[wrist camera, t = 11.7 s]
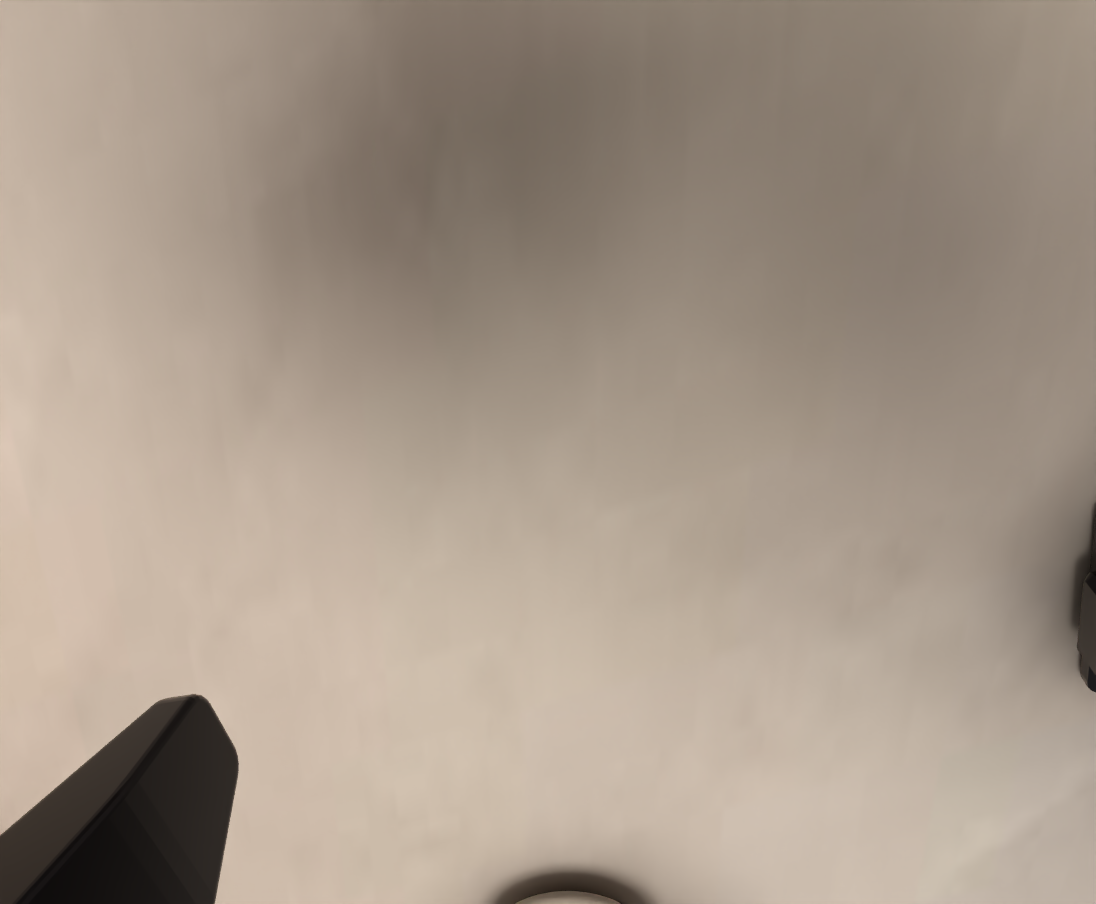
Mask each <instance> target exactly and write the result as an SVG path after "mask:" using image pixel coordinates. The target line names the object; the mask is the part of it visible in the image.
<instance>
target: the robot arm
mask: <svg viewBox="0 0 1096 904" xmlns="http://www.w3.org/2000/svg"><path fill="white" fill-rule="evenodd" d="M1077 648H1078V651H1079V652H1080V654H1081V655H1082V660H1081V670H1080V673H1081V677H1082V679H1083V680H1084V682H1085V683H1086V685H1087V686H1088V687H1089V688H1090V689H1091V690H1092V691H1094V692H1096V517H1095V527H1094V538H1093V548H1092V558H1091V568H1090V573H1088V575H1087V577H1086V578H1085V580H1084V582H1083V590H1082V600H1081V611H1080V622H1079V632H1078V643H1077ZM238 765H239V763H238V756H237V753H236V749H235V747H234V745H233V743H232V741H231V740H230V738H229V736H228V734H227V733H226V731H225V729H224V727H223V726H222V724H221V722H220V720H219V718H218V717H217V715H216V713H215V711H214V710H213V708H212V706H211V704H210V703H209V701H208V700H207V699H206V698H204V697H203V696H201V695H196V694H191V695H185V696H178V697H171V698H166V699H163V700H160V701H158V702H157V703H155V704H154V705H153V706H151V707H150V708H149V709H148V710H147V711H146V712H144V713H143V714H142V715H141V716H140V717H139V718H137V719H136V720H135V721H134V722H133V723H132V724H130V725H129V726H128V727H127V728H126V729H125V730H123V731H122V732H121V733H120V734H119V735H117V736H116V737H115V738H114V739H113V740H112V741H110V742H109V743H108V744H107V745H106V746H105V747H103V748H102V749H101V750H100V751H99V752H98V753H96V754H95V755H94V756H93V757H92V758H90V759H89V760H88V761H87V762H86V763H85V764H83V765H82V766H81V767H80V768H79V769H78V770H76V771H75V772H74V773H73V774H72V775H71V776H69V777H68V778H67V779H66V780H65V781H64V782H62V783H61V784H60V785H59V786H58V787H56V788H55V789H54V790H53V791H52V792H51V793H49V794H48V795H47V796H46V797H45V798H44V799H42V800H41V801H40V802H39V803H38V804H37V805H35V806H34V807H33V808H32V809H31V810H30V811H28V812H27V813H26V814H25V815H24V816H22V817H21V818H20V819H19V820H18V821H17V822H15V823H14V824H13V825H12V826H11V827H10V828H8V829H7V830H6V831H5V832H4V833H3V834H1V835H0V904H215V899H216V893H217V888H218V882H219V877H220V871H221V866H222V860H223V855H224V849H225V844H226V838H227V833H228V828H229V822H230V817H231V811H232V806H233V800H234V795H235V789H236V784H237V778H238Z"/></svg>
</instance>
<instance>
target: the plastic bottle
mask: <svg viewBox="0 0 1096 904" xmlns="http://www.w3.org/2000/svg"><path fill="white" fill-rule="evenodd" d="M515 904H621V903H619V902H617V901H615V900H613V899H610V898H607V897H604V896H601V895H597V894H592V893H587V892H577V891H557V892H549V893H543V894H538V895H535V896H532V897H528V898H525V899H523V900H521V901H519V902H517V903H515Z"/></svg>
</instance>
